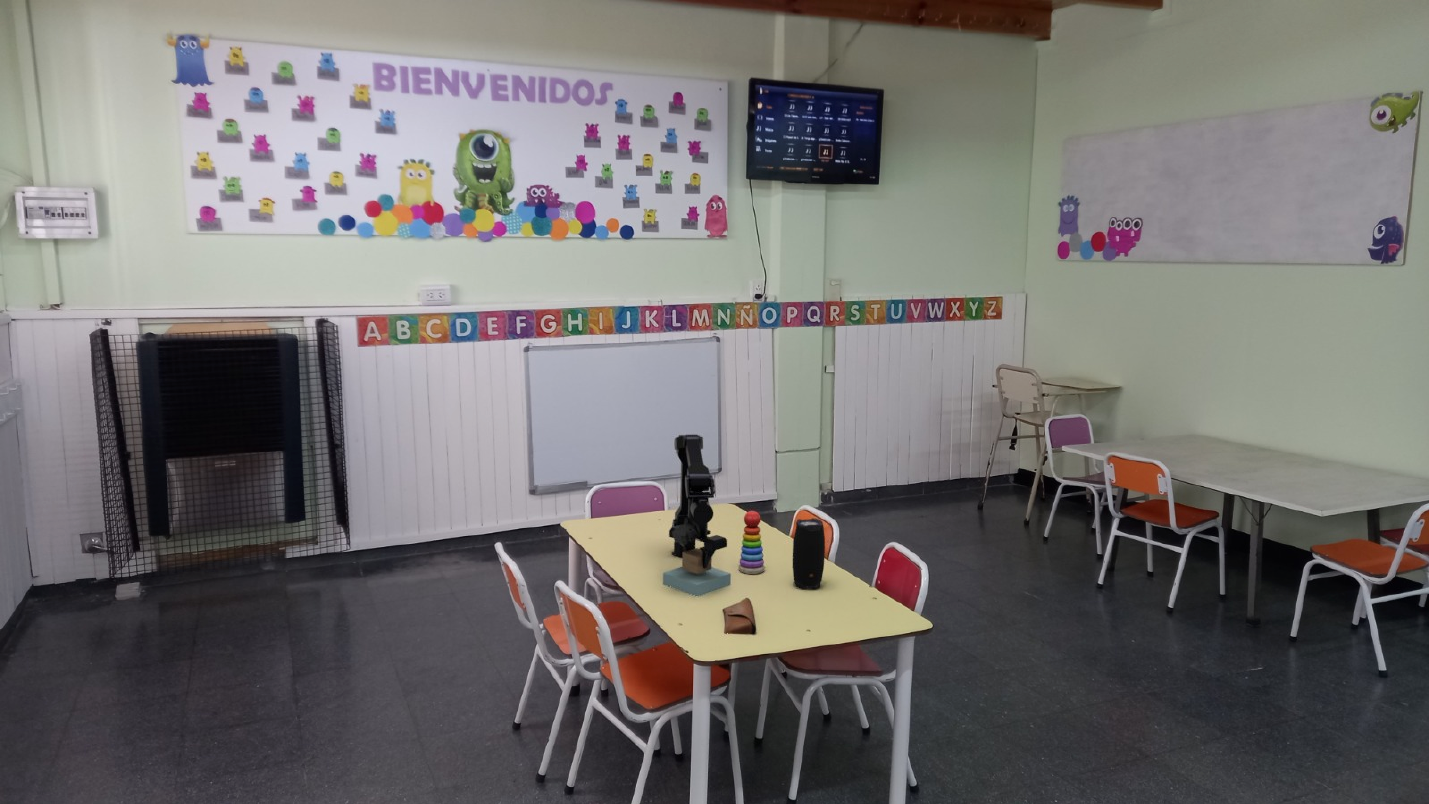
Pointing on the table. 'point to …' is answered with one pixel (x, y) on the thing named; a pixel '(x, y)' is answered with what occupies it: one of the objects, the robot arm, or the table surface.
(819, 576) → the portable speaker
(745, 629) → the sunglasses case
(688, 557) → the walnut block
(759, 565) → the stacking toy
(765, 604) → the table surface
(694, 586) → the teal base box
